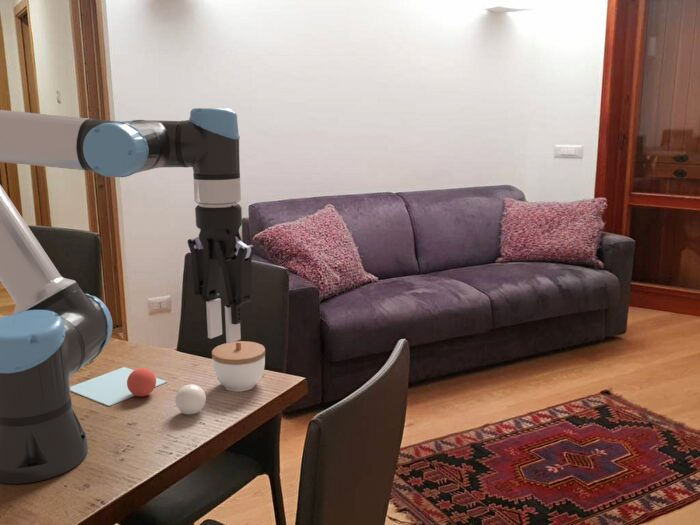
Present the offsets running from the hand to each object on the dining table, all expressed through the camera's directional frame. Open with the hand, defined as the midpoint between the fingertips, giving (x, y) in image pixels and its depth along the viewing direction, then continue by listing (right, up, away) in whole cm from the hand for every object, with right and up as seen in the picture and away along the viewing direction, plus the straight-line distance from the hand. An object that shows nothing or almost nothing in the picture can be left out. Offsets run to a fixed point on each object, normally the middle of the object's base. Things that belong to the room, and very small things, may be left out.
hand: (224, 338), depth 115 cm
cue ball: (-8, -12, +8) cm, 17 cm away
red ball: (-19, -11, +16) cm, 27 cm away
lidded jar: (-1, -12, +21) cm, 25 cm away
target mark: (-26, -12, +21) cm, 36 cm away
